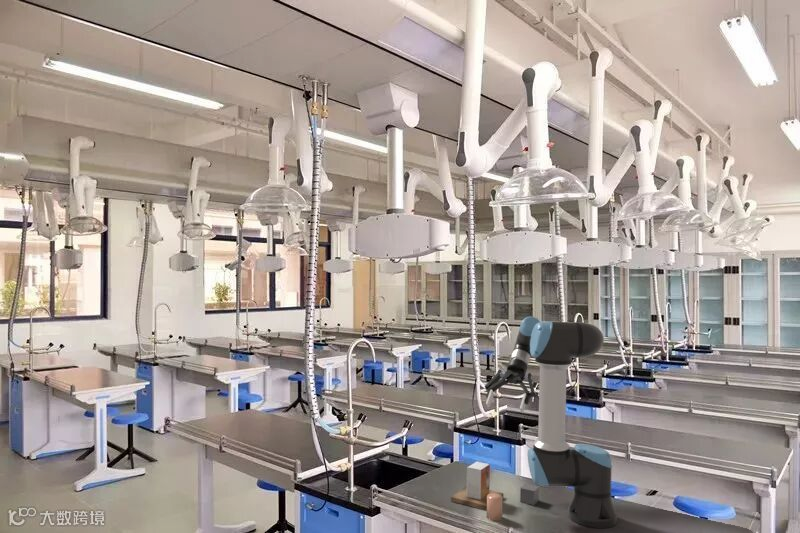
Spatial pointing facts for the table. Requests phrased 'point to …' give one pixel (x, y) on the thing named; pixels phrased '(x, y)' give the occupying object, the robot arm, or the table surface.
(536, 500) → the charcoal block
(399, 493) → the table surface
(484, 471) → the small box
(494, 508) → the pinkish-brown upright cylinder
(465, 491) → the walnut board
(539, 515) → the table surface
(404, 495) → the table surface
